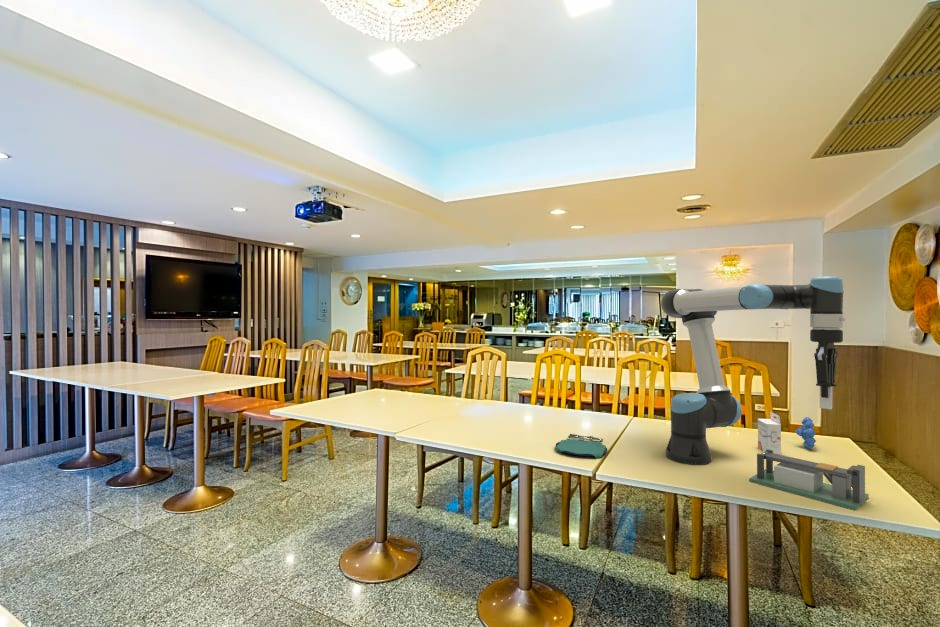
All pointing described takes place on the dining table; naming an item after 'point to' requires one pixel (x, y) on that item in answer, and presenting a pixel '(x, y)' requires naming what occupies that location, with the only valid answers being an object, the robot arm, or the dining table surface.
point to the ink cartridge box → (770, 434)
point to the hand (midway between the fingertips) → (825, 408)
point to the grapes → (807, 432)
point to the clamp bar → (806, 464)
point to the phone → (829, 477)
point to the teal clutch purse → (582, 446)
